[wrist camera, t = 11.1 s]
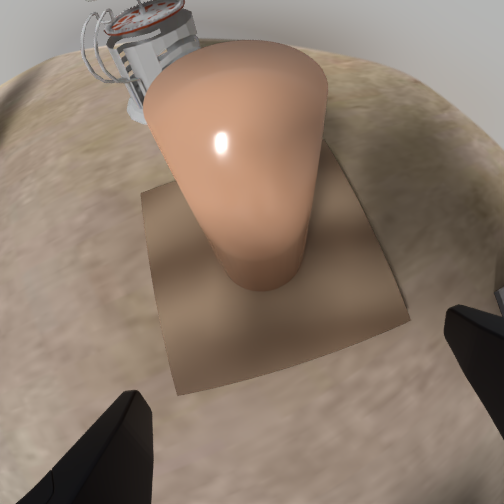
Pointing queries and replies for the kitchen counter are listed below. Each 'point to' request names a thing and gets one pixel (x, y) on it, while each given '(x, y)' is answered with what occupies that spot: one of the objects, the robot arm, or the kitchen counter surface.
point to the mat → (268, 302)
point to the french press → (144, 45)
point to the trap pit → (500, 299)
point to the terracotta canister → (244, 150)
